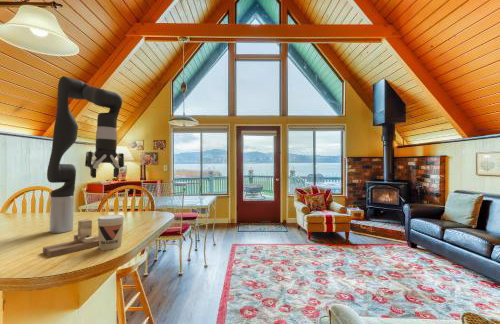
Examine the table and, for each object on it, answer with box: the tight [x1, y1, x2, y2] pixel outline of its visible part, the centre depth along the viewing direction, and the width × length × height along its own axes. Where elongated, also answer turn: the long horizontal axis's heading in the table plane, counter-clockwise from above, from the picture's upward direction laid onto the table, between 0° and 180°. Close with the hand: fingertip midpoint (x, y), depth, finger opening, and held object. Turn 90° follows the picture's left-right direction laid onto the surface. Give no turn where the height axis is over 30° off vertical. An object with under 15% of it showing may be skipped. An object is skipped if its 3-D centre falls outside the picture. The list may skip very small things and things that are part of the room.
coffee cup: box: [97, 214, 125, 251], centre depth 99 cm, size 9×9×12 cm
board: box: [42, 235, 99, 258], centre depth 97 cm, size 8×20×2 cm, turn 146°
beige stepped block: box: [73, 218, 95, 243], centre depth 100 cm, size 9×5×10 cm, turn 56°
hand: (104, 177), depth 102 cm, fingers open, 8 cm apart
